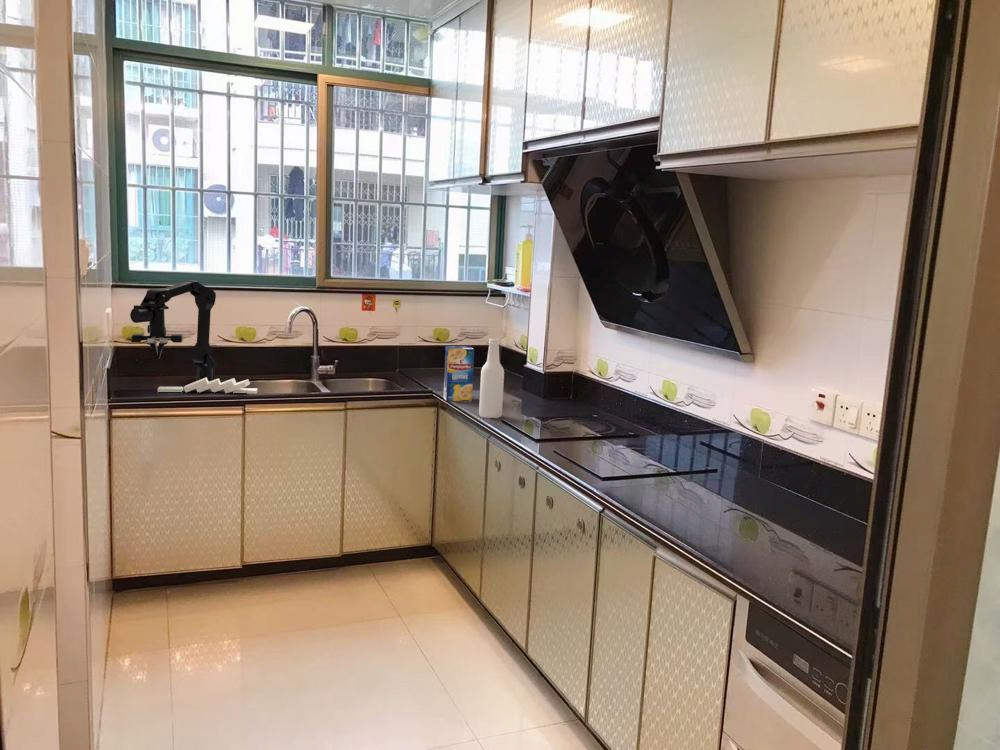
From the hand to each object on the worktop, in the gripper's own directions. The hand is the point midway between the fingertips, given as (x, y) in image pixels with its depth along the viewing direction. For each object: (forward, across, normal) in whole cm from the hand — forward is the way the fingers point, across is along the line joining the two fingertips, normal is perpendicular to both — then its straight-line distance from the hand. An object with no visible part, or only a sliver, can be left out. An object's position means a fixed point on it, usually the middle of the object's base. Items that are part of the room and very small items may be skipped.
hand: (158, 359), depth 328 cm
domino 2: (+11, -11, +7) cm, 17 cm away
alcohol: (+13, -124, +56) cm, 137 cm away
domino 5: (+11, -26, +8) cm, 30 cm away
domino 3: (+11, -15, +7) cm, 20 cm away
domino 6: (+12, -29, +8) cm, 33 cm away
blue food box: (+13, -119, +24) cm, 122 cm away
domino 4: (+11, -21, +7) cm, 25 cm away
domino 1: (+11, -1, +7) cm, 13 cm away
